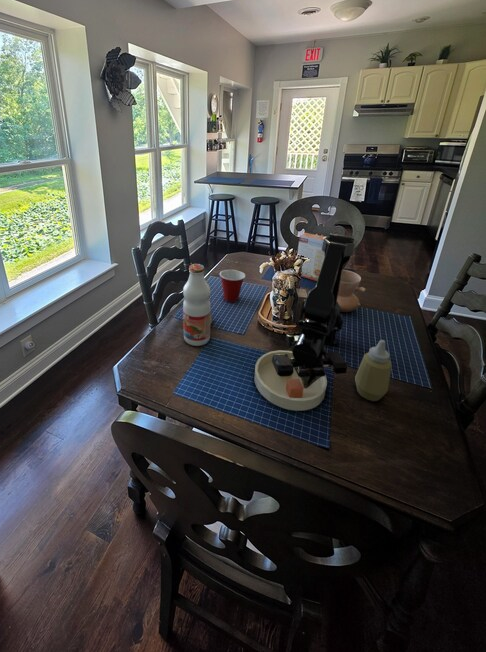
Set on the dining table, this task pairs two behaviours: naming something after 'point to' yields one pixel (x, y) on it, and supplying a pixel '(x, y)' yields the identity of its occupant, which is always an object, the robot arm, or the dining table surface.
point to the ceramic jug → (349, 291)
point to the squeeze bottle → (374, 373)
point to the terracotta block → (294, 388)
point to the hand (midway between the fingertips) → (304, 387)
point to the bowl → (276, 385)
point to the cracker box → (311, 255)
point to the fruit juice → (196, 307)
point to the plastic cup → (231, 284)
